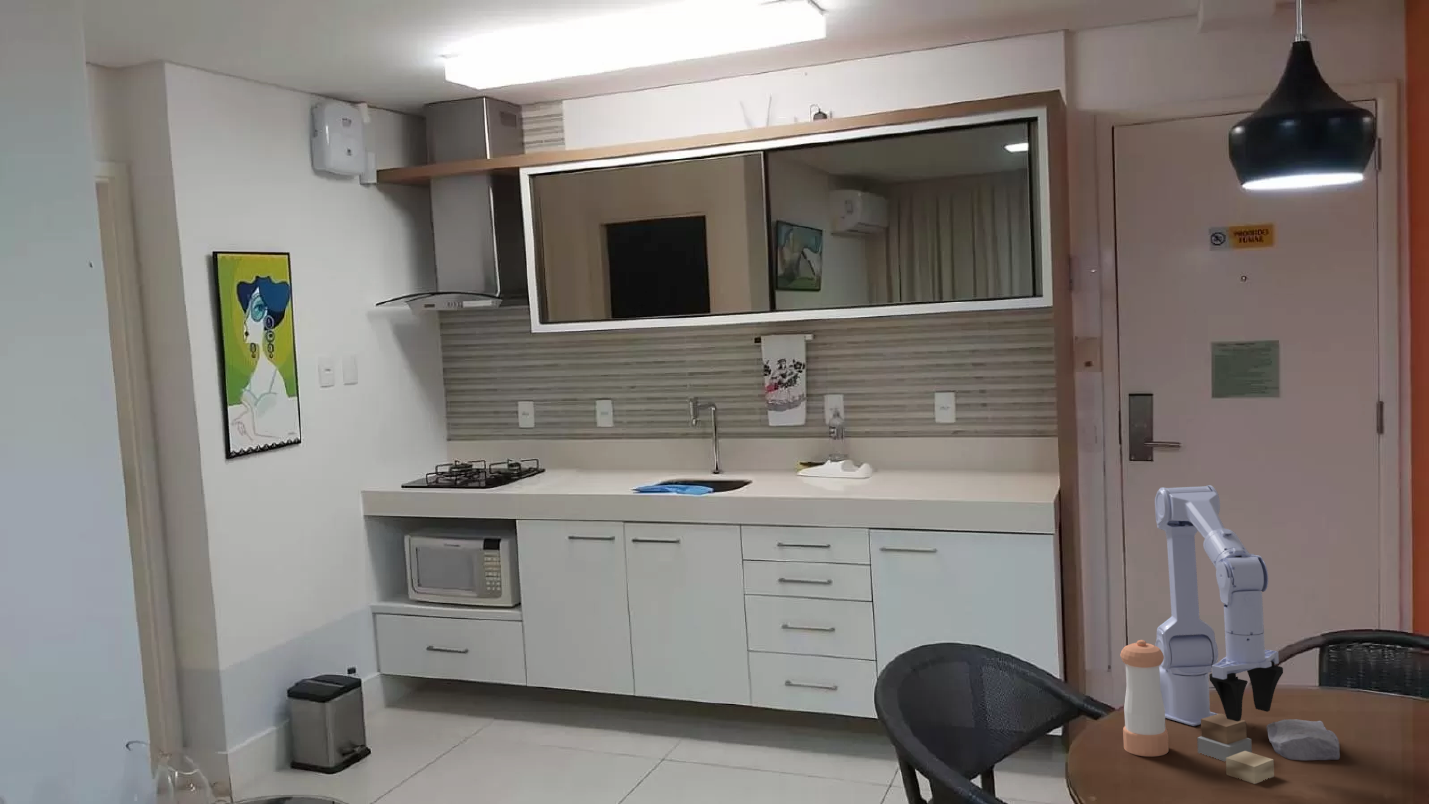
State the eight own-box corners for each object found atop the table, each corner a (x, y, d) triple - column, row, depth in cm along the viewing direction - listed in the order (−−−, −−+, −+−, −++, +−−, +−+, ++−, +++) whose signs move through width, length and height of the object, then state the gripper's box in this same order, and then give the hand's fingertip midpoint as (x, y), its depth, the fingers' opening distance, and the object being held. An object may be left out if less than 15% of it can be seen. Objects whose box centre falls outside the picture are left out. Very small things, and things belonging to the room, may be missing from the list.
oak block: (1226, 775, 181) (1225, 757, 180) (1245, 768, 183) (1245, 750, 183) (1254, 785, 176) (1254, 766, 176) (1274, 777, 179) (1273, 759, 179)
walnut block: (1201, 736, 191) (1200, 719, 191) (1220, 730, 193) (1220, 713, 193) (1226, 744, 186) (1226, 726, 186) (1246, 738, 189) (1245, 720, 189)
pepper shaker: (1175, 747, 194) (1170, 638, 193) (1159, 759, 188) (1154, 648, 188) (1133, 739, 199) (1128, 633, 198) (1117, 751, 193) (1112, 642, 192)
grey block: (1197, 754, 191) (1197, 737, 190) (1220, 746, 193) (1219, 729, 193) (1229, 764, 185) (1228, 747, 185) (1251, 756, 188) (1251, 739, 188)
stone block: (1283, 772, 185) (1347, 760, 183) (1276, 743, 185) (1339, 732, 183) (1263, 749, 197) (1323, 738, 195) (1256, 722, 197) (1316, 711, 195)
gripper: (1238, 643, 172) (1243, 730, 173) (1294, 628, 180) (1298, 711, 180) (1198, 635, 178) (1202, 719, 179) (1254, 621, 186) (1258, 701, 186)
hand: (1248, 714), depth 180 cm, fingers open, 7 cm apart
